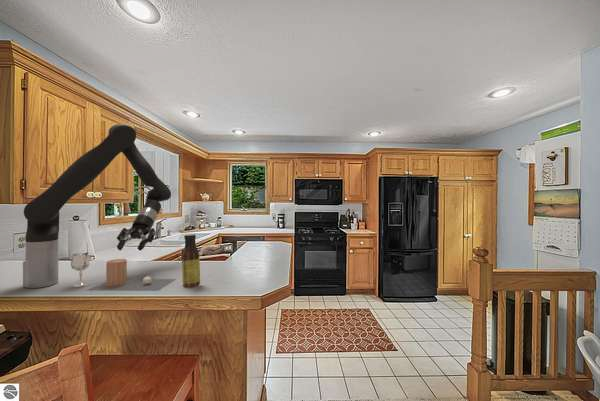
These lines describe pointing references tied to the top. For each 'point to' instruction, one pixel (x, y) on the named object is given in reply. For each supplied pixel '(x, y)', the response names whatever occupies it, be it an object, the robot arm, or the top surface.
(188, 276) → the sauce bottle
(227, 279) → the top surface
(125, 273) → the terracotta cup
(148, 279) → the ivory ball
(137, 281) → the rubber mat
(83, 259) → the wineglass
